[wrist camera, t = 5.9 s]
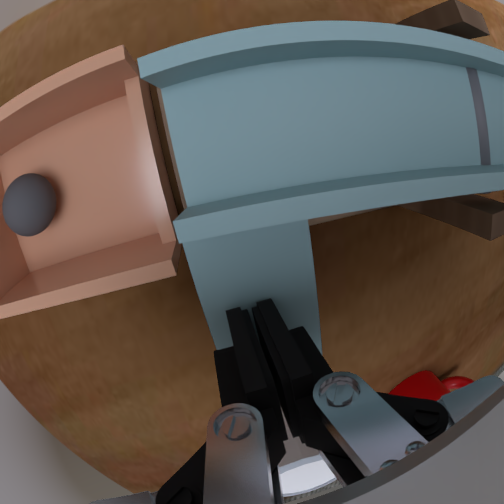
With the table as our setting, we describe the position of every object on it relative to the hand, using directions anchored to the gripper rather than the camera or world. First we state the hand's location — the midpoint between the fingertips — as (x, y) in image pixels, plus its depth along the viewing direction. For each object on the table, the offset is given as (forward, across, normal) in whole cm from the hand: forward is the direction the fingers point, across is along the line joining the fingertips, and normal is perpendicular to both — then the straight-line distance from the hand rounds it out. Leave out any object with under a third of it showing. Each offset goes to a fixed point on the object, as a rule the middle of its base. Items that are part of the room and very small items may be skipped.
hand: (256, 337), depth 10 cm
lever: (-1, -10, -3) cm, 10 cm away
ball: (+4, +9, -7) cm, 12 cm away
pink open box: (+6, +7, -7) cm, 11 cm away
